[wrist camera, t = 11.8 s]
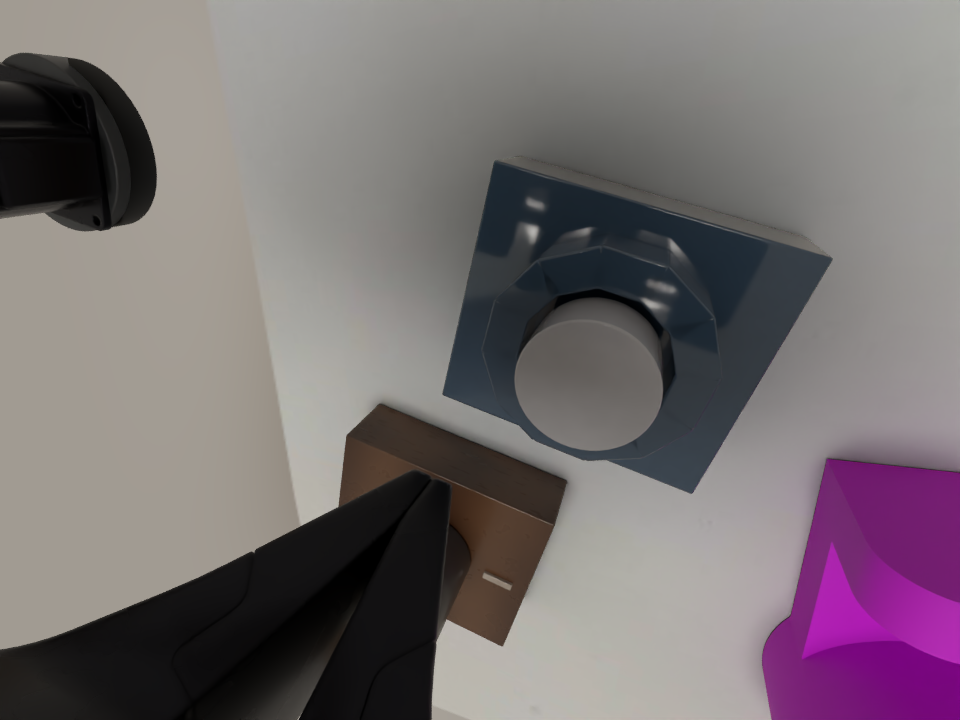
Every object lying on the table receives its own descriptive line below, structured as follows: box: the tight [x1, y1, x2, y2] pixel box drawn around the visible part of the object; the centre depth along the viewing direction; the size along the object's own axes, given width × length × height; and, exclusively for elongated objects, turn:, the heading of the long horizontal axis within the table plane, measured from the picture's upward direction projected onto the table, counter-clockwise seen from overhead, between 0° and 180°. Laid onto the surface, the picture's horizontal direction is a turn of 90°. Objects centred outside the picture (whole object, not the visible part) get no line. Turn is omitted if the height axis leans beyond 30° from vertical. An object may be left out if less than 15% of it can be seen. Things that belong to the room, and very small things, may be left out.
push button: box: [514, 297, 664, 451], centre depth 14 cm, size 4×4×2 cm
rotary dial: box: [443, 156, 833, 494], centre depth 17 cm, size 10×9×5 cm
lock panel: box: [339, 404, 567, 646], centre depth 25 cm, size 10×9×3 cm
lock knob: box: [436, 525, 470, 641], centre depth 22 cm, size 4×4×4 cm
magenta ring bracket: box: [762, 459, 960, 720], centre depth 18 cm, size 16×10×6 cm, turn 5°
